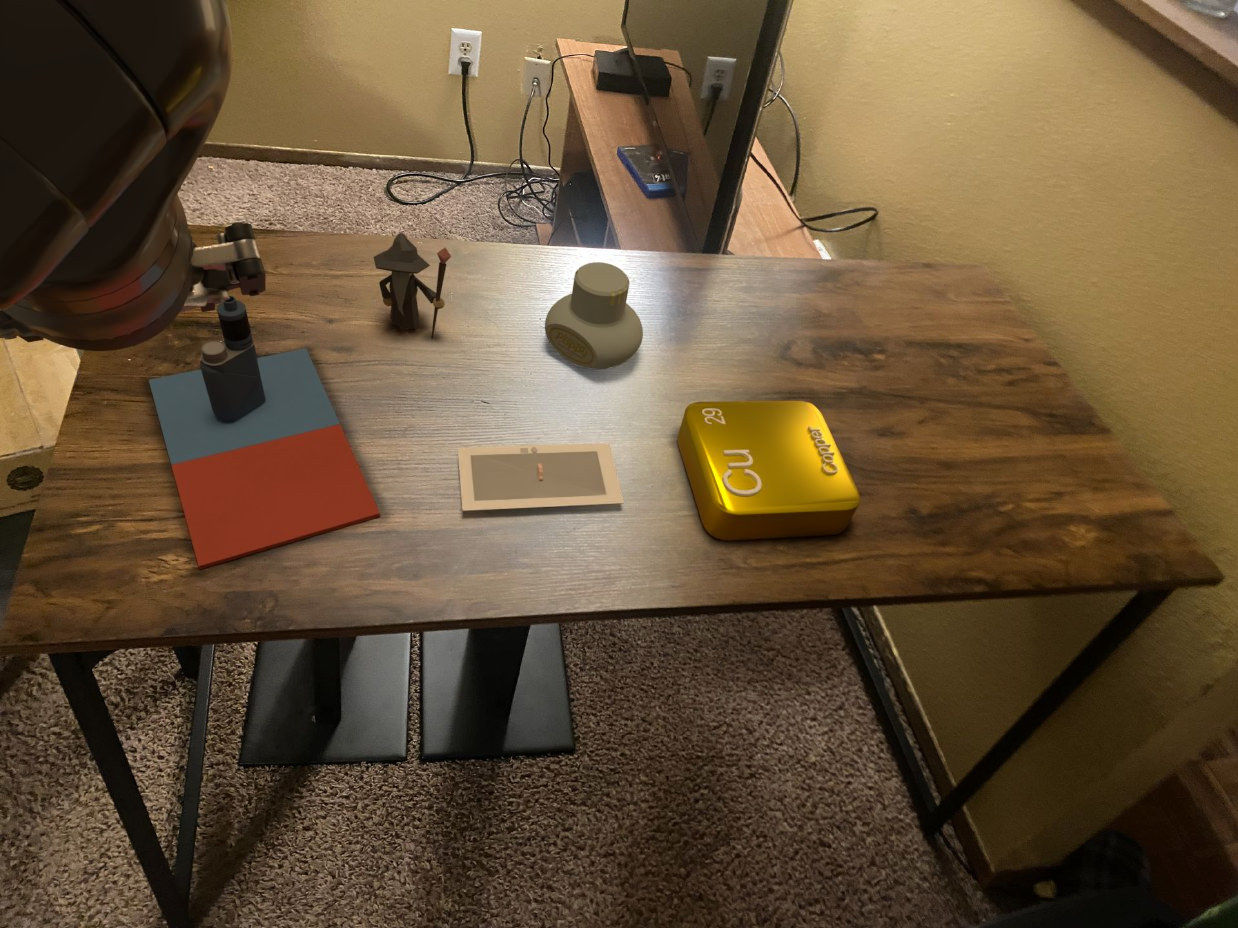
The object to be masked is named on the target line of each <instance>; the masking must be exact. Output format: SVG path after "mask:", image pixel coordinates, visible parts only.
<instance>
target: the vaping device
mask: <svg viewBox="0 0 1238 928" xmlns="http://www.w3.org/2000/svg"><path fill="white" fill-rule="evenodd" d="M229 297H230V299H228V300H225V301H224V303H220V304H217V307H216V313H217V316H218V321H219V325H220V329H221V333H222V337H223V340H222V341H221V340H216V339H215V340H209V341H206V342H204V343H203V344H202V345H201V346H200V351H201V354H200V355H199V357H200V358H199V359H200V361H199V367H200V369H201V371H202V375H203V378H204V382H205V386H206V389H207V393H208V396H209V400H210V403H211V407H212V410H213V412H214V414H215V415H216V416H217V417H218V418H219V419H220V420H222V421H225V422H233V421H236V420H238V419H239V418H241V417H243V416H244V415H246V414H247V413H249V412H250V411H252V410H253V409H255V408H257V407H258V406H260V405H261V404H263V403H264V402H265V400H266V399H265V394H264V389H263V385H262V380H261V376H260V371H259V366H258V360H257V358H258V355H257V351H256V346H255V345H256V344H255V340H254V338H253V336H252V331H251V326H250V322H249V316H248V312H247V308H246V305H245V303H244V302H242V301H240V300H238V299H237V298H236V297H235V296H234V295H229Z"/></svg>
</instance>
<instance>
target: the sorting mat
mask: <svg viewBox="0 0 1238 928" xmlns="http://www.w3.org/2000/svg"><path fill="white" fill-rule="evenodd" d="M257 360H258V366H259V371H260V376H261V380H262V385H263V389H264V394H265V399H266V400H265V402H264V403H263V404H261V405H260V406H258V407H257V408H255V409H253V410H252V411H250V412H249V413H247V414H246V415H244V416H243V417H241V418H239V419H238V420H236V421H233V422H225V421H222V420H220V419H219V418H218V417H217V416H216V415H215V414H214V412H213V410H212V407H211V403H210V400H209V396H208V393H207V389H206V386H205V382H204V378H203V375H202V371H201V368H200V369H196V370H191V371H185V372H180V373H174V374H170V375H165V376H160V377H155V378H150V379H148V383H149V388H150V391H151V395H152V398H153V403H154V406H155V410H156V414H157V417H158V421H159V425H160V429H161V433H162V436H163V438H164V439H163V440H164V444H165V447H166V450H167V451H166V452H167V454H168V455H167V456H168V459H169V462H170V466H171V469H172V474H173V477H174V481H175V484H176V488H177V492H178V495H179V499H180V503H181V508H182V511H183V514H184V518H185V521H186V526H187V529H188V534H189V536H190V540H191V544H192V548H193V552H194V555H195V556H194V557H195V560H196V563H197V567H198V569H199V570H203V569H206V568H209V567H213V566H217V565H220V564H223V563H226V562H230V561H234V560H237V559H240V558H243V557H247V556H250V555H251V556H252V555H254V554H258V553H261V552H264V551H268V550H271V549H274V548H278V547H281V546H284V545H288V544H291V543H294V542H297V541H302V540H304V539H309V538H311V537H312V538H313V537H314V536H319V535H321V534H325V533H329V532H332V531H335V530H339V529H342V528H345V527H349V526H352V525H355V524H359V523H362V522H366V521H369V520H373V519H376V518H379V517H381V514H380V510H379V508H378V506H377V504H376V501H375V500H374V497H373V495H372V492H371V490H370V488H369V485H368V484H367V482H366V481H367V480H366V479H365V477H364V474H363V472H362V470H361V467H360V465H359V463H358V460H357V459H356V456H355V454H354V452H353V449H352V448H351V445H350V443H349V440H348V439H347V436H346V434H345V432H344V429H343V427H342V425H341V422H340V421H339V418H338V416H337V414H336V412H335V410H334V407H333V404H332V402H331V401H330V397H329V396H328V393H327V392H326V391H327V390H326V389H325V387H324V384H323V383H322V380H321V377H320V375H319V373H318V371H317V369H316V366H315V365H314V362H313V359H312V357H311V355H310V352H309V351H308V349H307V348H306V347H305V348H300V349H295V350H290V351H284V352H280V353H274V354H270V355H265V356H260V357H257Z"/></svg>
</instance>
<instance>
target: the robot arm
mask: <svg viewBox="0 0 1238 928" xmlns="http://www.w3.org/2000/svg"><path fill="white" fill-rule="evenodd" d="M231 24H232V23H231V17H230V13H229V8H228V4H227V0H0V339H4V340H6V341H8V340H14V339H17V338H21V339H22V340H24V341H25V342H27V343H33V342H34V343H35V342H40V341H44V340H47V341H49V342H51V343H55V344H57V345H59V346H62V347H66V348H71V349H75V350H78V351H79V350H80V351H87V352H111V351H118V350H123V349H128V348H131V347H135V346H138V345H140V344H143V343H145V342H147V341H149V340H151V339H153V338H154V337H156V336H158V335H159V334H161V333H162V332H163V331H165V330H166V329H167V328H168V327H169V326H170V325H171V324H172V323H173V322H174V320H175V319H176V318H177V317H178V316H179V314H180V313H185V312H189V311H192V310H195V309H199V308H200V311H201V313H206V312H213V311H215V310H216V305H219V304H220V303H224V301H225V300H228V299H230V297H229V296H230V293H229V291H232V290H236V289H240V293H241V295H242V296H249V297H256V296H259V295H260V294H261V293H263V292H266V289H267V287H266V286H267V285H266V279H267V278H266V275H267V274H266V270H265V268H264V265H263V261H262V257H261V253H260V249H259V246H258V243H257V240H256V237H255V233H254V229H253V226H252V223H249V222H242V221H237V222H233V223H231V224H230V225H227V226H226V227H225V228H224V231H225V232H220V233H217V234H216V235H215V236H216V240H217V243H216V244H210V245H209V244H208V245H203V246H197V244H196V243H195V242H194V239H193V235H192V233H191V230H190V228H189V225H188V219H187V216H186V213H185V208H184V205H183V203H182V201H181V199H180V197H179V195H178V194H179V192H180V190H181V188H182V186H183V184H184V183H185V181H186V179H187V177H188V176H189V174H190V172H191V170H192V169H193V167H194V166H195V164H196V162H197V160H198V158H199V156H200V155H201V152H202V151H203V148H204V146H205V144H206V142H207V140H208V137H209V136H210V134H211V132H212V129H213V128H214V125H215V124H216V122H217V120H218V117H219V114H220V113H221V110H222V107H223V105H224V103H225V100H226V96H227V93H228V89H229V87H230V83H231V76H232V70H233V69H232V68H233V58H234V57H233V55H234V54H233V52H234V43H233V32H232V25H231Z"/></svg>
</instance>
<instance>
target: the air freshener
mask: <svg viewBox="0 0 1238 928" xmlns="http://www.w3.org/2000/svg"><path fill="white" fill-rule="evenodd" d="M574 272H575V273H574V277H573V284H572V290H571V293H569V294H567V295H565V296H563V297H561V298H560V299H558V300H557V301H556V302H555V303H554V304H553V305H552V306H551V307H550V309H549V310H548V312H547V314H546V317H545V319H544V320H545V321H544V333H545V336H546V339H547V341H548V343H549V344H550V346H551V347H552V348H553V350H554V351H555V352H556V353H557V354H558V355H560V356H561V357H562V358H563V359H564V360H566V361H568V362H569V363H571V364H573V365H575V366H577V367H579V368H580V367H581V368H585V369H590V370H607V369H612V368H615V367H619V366H621V365H623V364H624V363H626V362H628V361H629V360H630V359H631V358H633V357H634V356H635V355H636V354H637V352H638V351H639V349H640V348H641V345H642V342H643V337H644V331H643V330H644V329H643V325H642V322H641V319H640V317H639V315H638V313H637V312H636V311H635V310H634V308H632V307H631V306H630V304H628V303H627V299H628V294H629V289H630V279H629V276H628V275H627V274H626V273H625V272H624V270H622V269H621V268H619V267H618V266H616V265H614V264H612V263H608V262H600V261H593V262H589V263H585V264H583V265H582V266H580V267H579V268H578V269H577V270H575V271H574Z"/></svg>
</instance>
